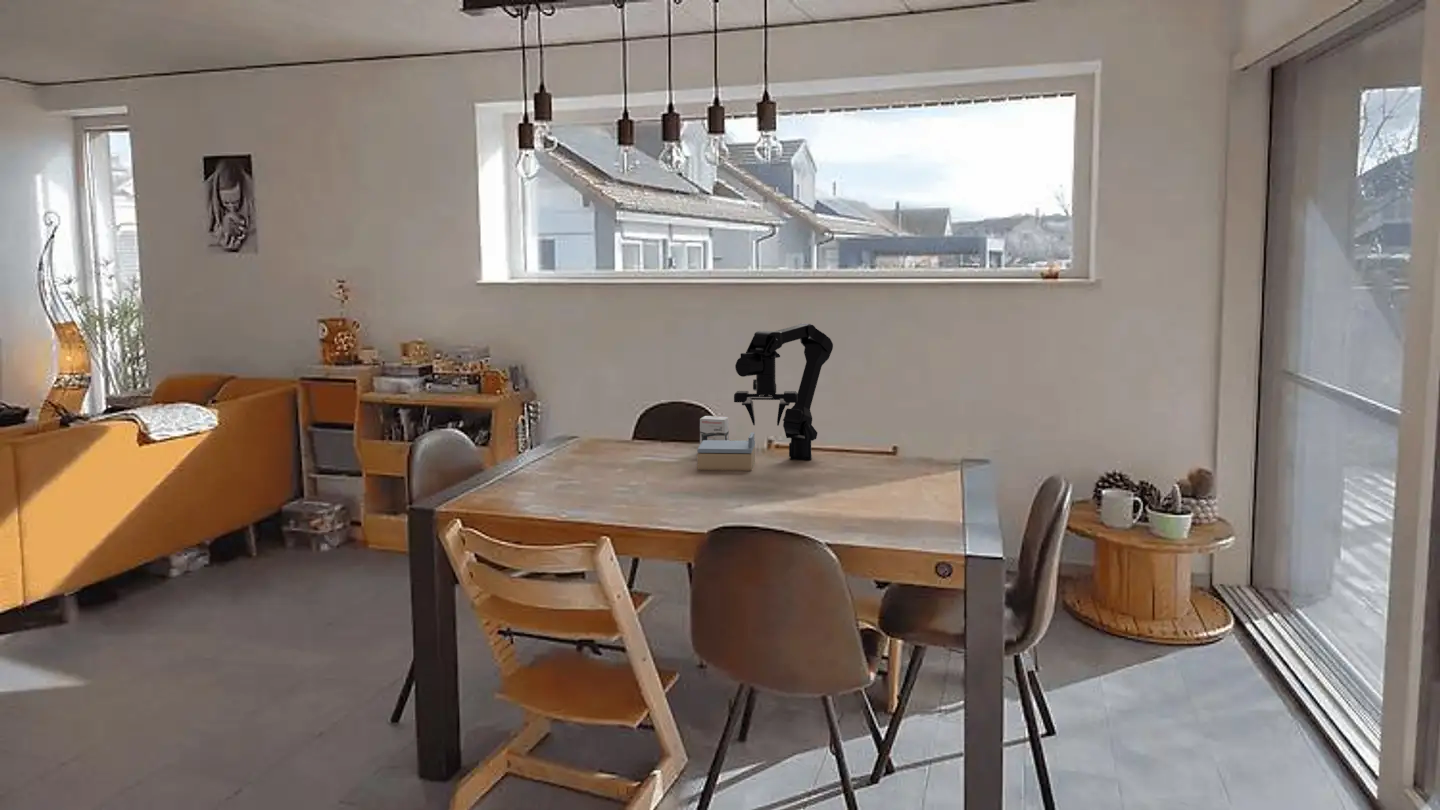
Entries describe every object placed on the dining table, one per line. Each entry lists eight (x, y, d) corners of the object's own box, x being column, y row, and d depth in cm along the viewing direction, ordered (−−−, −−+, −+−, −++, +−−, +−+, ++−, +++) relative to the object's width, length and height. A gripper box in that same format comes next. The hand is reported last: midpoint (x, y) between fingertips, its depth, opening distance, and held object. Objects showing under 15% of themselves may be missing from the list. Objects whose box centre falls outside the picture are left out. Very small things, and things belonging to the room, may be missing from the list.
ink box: (699, 454, 335) (698, 418, 333) (704, 451, 339) (703, 415, 338) (724, 455, 332) (724, 419, 330) (729, 452, 337) (729, 416, 335)
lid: (754, 444, 322) (754, 431, 321) (751, 453, 308) (751, 439, 307) (703, 444, 323) (703, 430, 323) (697, 452, 310) (697, 438, 309)
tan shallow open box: (755, 461, 322) (754, 445, 322) (751, 470, 309) (751, 454, 308) (703, 460, 324) (703, 444, 323) (697, 470, 310) (697, 453, 310)
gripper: (798, 370, 318) (798, 421, 320) (737, 370, 320) (737, 420, 322) (796, 375, 307) (796, 427, 309) (733, 374, 309) (734, 426, 311)
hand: (766, 425), depth 313 cm, fingers open, 7 cm apart
